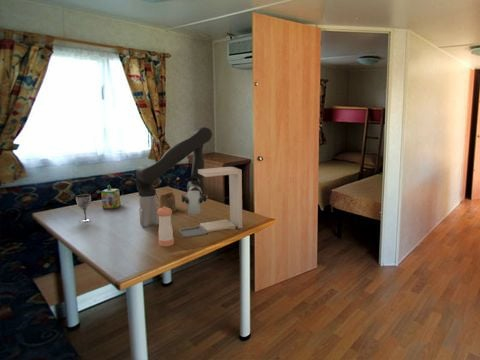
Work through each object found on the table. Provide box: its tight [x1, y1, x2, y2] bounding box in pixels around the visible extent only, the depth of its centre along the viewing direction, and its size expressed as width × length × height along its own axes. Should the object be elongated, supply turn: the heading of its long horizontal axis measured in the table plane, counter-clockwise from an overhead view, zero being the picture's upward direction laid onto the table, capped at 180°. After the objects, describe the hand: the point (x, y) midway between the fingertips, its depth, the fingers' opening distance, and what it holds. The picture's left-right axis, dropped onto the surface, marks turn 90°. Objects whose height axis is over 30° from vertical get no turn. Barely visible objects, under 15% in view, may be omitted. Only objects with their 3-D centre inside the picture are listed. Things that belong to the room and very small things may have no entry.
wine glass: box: [75, 193, 92, 221], centre depth 207 cm, size 8×8×15 cm
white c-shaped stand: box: [198, 166, 243, 233], centre depth 190 cm, size 20×12×32 cm, turn 115°
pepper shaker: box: [157, 206, 175, 247], centre depth 167 cm, size 7×7×19 cm
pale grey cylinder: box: [187, 191, 201, 215], centre depth 181 cm, size 6×6×11 cm
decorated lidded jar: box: [100, 184, 122, 209], centre depth 236 cm, size 9×9×15 cm
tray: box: [177, 225, 209, 239], centre depth 183 cm, size 12×12×2 cm
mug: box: [156, 191, 178, 212], centre depth 226 cm, size 12×18×12 cm, turn 132°
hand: (193, 201), depth 179 cm, fingers closed on pale grey cylinder, 6 cm apart
